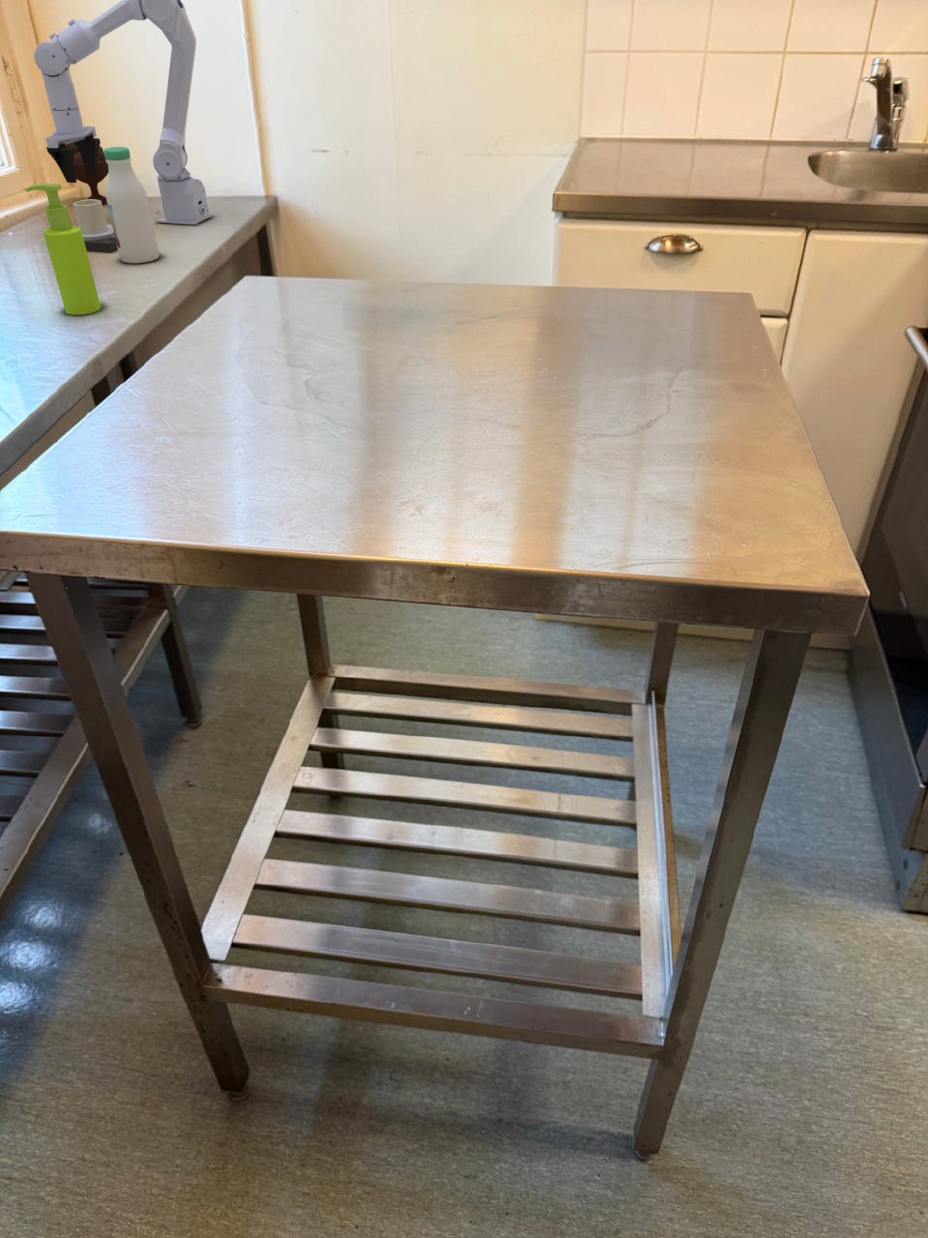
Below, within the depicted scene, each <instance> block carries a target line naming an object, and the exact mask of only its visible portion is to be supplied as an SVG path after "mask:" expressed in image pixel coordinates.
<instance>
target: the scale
mask: <svg viewBox="0 0 928 1238" xmlns="http://www.w3.org/2000/svg"><path fill="white" fill-rule="evenodd" d="M107 228H108V230H107V231H105V232H102V233H96V234H83V233H82V235H83V239H84V243H85V247H86V251H87V252H96V253H98V252H99V253H110V254H111V253H113V252H116V251H118V248H117V244H116V240H115V235H114V231H113V227H112V224H107Z"/></svg>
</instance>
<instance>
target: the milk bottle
mask: <svg viewBox="0 0 928 1238" xmlns="http://www.w3.org/2000/svg"><path fill="white" fill-rule="evenodd" d="M103 152H104V155H105V158H106V162H107V163H108V167H109V173H108V175H107V181H106V186H105V187H106V188H105V197H106V198H107V203H106V204H107V208H108V213H109V218H110V223H111V225H112V227H113V231H114V235H115V240H116V244H117V248H118V249H117V251H118V256H119V259H120V261H122V262H123V263H127V264H144V263H148V262H153V261H155V260H157V259H159V258H160V250H159V246H158V240H157V235H156V230H155V226H154V220H153V216H152V212H151V208H150V203H149V200H148V195H147V192H146V190H145V188H144V186H143V184H142V182H141V181H140V179H139V178H138V176H137V175H136V173H135V171H134V169H133V166H132V163H131V162H132V159H131V151H130V148H128V147H126V146H112V147H107V148H104V149H103Z"/></svg>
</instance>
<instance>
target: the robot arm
mask: <svg viewBox="0 0 928 1238" xmlns="http://www.w3.org/2000/svg"><path fill="white" fill-rule="evenodd" d="M146 20H149V21H150V22H151V23H152V24H154V25H155V26H156V27H157V28H158V29H159V30H161V32H162V33H163V35H164V37H165V38H166V40H167V41H168V42H169V44H170V45H171V51H170V61H169V68H168V78H167V85H166V86H167V88H166V95H165V104H164V113H163V122H162V129H161V134H160V139H159V146H158V148H157V150H156V151H155V152H154V154H153V157H152V164H153V168H154V170H155V171H156V173H157V175H156V178H157V183H158V189H159V193H160V199H161V203H162V208H163V214H164V216H163V217H162V218H160V219H158V220H157V222H158V223H163V224H174V225H175V224H178V225H191V226H192V225H193V226H194V225H195V226H196V225H197V224H199V223H201V222H203V221H205V220H207V219H210V218H212V214H210V211H209V205H208V200H207V194H206V189H205V186H204V184H203V182H202V180H200V179H198V178H194V177H193V176H191V172H189V170H188V169H187V168H186V166H187V163H188V153H187V149H186V131H187V130H186V128H187V121H188V112H189V106H190V105H189V104H190V97H191V91H192V82H193V75H194V66H195V59H196V52H197V51H196V50H197V38H196V35H195V32H194V29H193V27H192V25H191V22H190V19H189V16H188V14H187V11H186V7H185V4H184V3H183V1H182V0H120V1H119V2H117V3H115V4H114V5H113V6H111V7H110V8H109V9H107V10H105V11H104V12H102V13H101V14H100V15H98V16H97V17H95V18H94V19H93V20H92V21H87V20H85V19H81V18H79V19H78V20H76V19H75V18H72V19H70V20H69V21H68V22H67V24H68V26H67V27H65V28H63V29H62V30H61V31H59V32H57V33H54V32H53V33H51V34H49V39H50V40H46V41H41V42H39V44H38V45H37V46H36V48H35V50H34V53H33V57H34V62H35V64H36V67H37V68H38V69H39V70H40V72H41V77H42V80H43V84H44V90H45V93H46V97H47V100H48V105H49V108H50V113H51V117H52V120H53V124H54V129H55V130H54V131H53V132H52V134H51V135H50V136H47V137H45V141H46V145H47V146H46V151H47V153H48V154H49V155H50V157H51V158H52V159H53V160H54V162H55V163H56V164H57V165H56V166H58V168H59V170H60V172H61V175H62V176H63V178H64V179H65V181H66V183H67V184H76V183H78V180H77V178H76V172H75V167H74V148H67V146H65V145H66V144H69V143H72V142H74V143H75V145H76V147H77V148H78V150H79V153H80V155H81V157H82V160H83V163H84V167H85V170H86V172H87V174H88V175H92V176H96V175H97V157H98V150H99V146H101V139H100V137H97V135H98V134H97V131H96V128H95V126H91V125H88V126H87V125H86V126H84V123H83V119H82V113H81V110H80V105H79V101H78V98H77V93H76V90H75V89H76V88H75V85H74V81H73V79H72V74H71V70H70V67H71V65H76V64H78V63H79V62H81V61H82V60H84V59H85V58H87V57H89V56H91V55H92V54H94V53H95V52H96V51H98V50H100V45H101V39H102V38H103V37H105V36H107V35H109V34H110V33H111V32H113V31H116V30H117V29H119V28H120V27H122V26H123V25H125V24H127V23H128V22H130V21H142V22H143V21H144V22H145V21H146Z"/></svg>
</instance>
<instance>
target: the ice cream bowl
mask: <svg viewBox="0 0 928 1238" xmlns="http://www.w3.org/2000/svg"><path fill="white" fill-rule="evenodd" d="M65 146H67V148H74V167H75V172H76V178H77V181H79V182H81V183H83V184H86V185H88V187H89V189H90V194H91V195H90V196H88V198H86V200H88V199H96V200H100V201H101V203H102V205H103V204H107V198H106V196H104V195H102V194H100V192H99V188H98V186H99V183H101V182H103V180H104V179H105V178H106V177H108V174H109V167H108V163H107V162H106V158H105V155H104V148H103V147H102V146H101V145H100V146H99V150H98V157H97V175H96V176H92V175H88V174H87V172H86V170H85V167H84V163H83V160H82V157H81V155H80V153H79V150H78V148H77V147H76V145H75V143H74V142H72V143H69V144H66V145H65Z"/></svg>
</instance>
